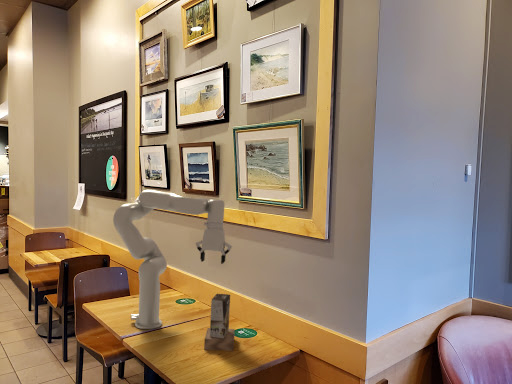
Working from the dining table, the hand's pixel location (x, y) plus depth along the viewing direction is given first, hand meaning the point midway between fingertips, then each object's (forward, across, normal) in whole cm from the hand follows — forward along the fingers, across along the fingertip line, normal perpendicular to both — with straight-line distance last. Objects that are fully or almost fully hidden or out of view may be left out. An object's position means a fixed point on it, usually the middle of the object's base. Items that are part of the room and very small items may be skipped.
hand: (212, 262), depth 182 cm
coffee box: (+28, +9, -14) cm, 32 cm away
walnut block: (+32, +9, -14) cm, 37 cm away
